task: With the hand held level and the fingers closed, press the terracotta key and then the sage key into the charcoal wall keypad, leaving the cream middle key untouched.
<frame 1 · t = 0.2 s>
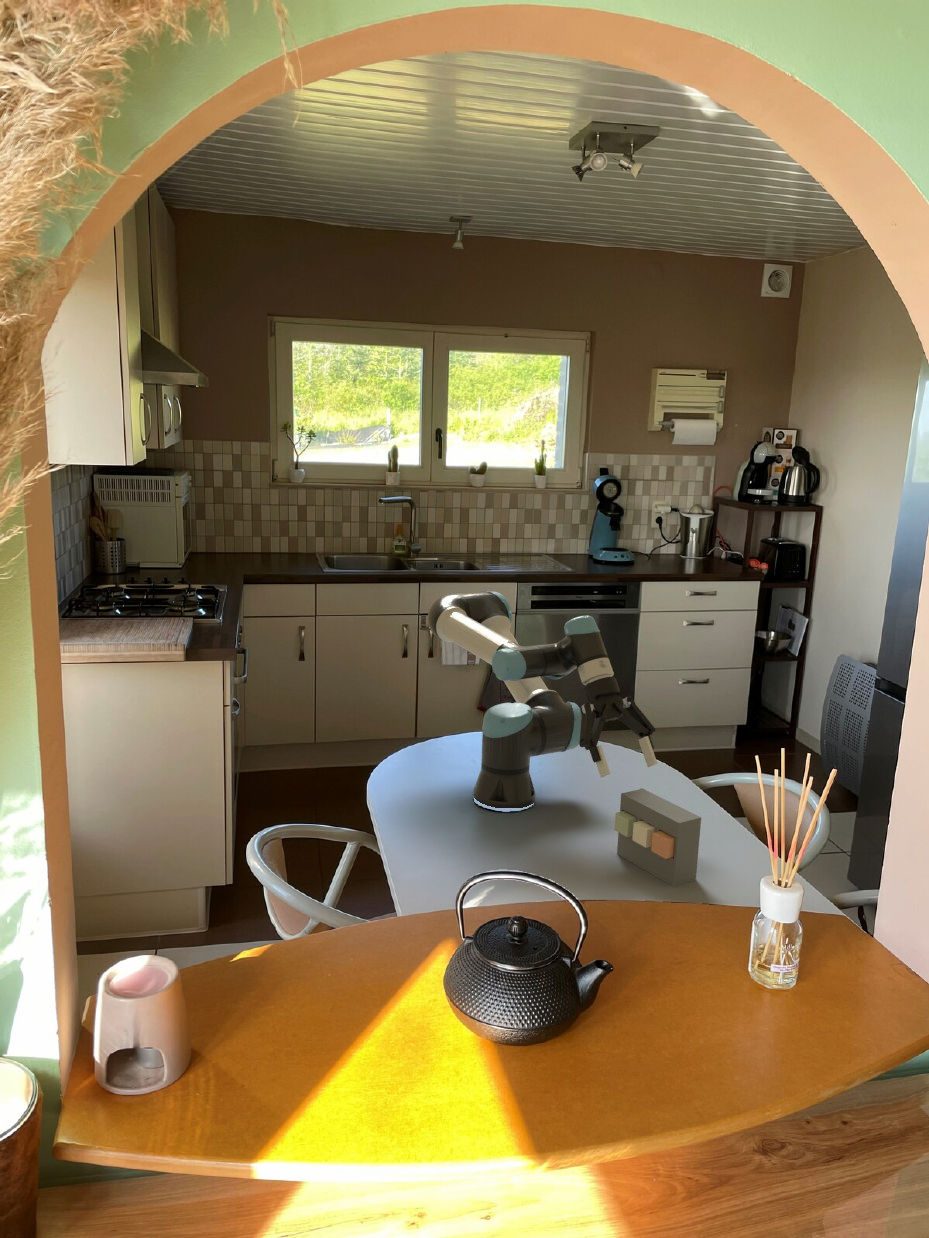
hand: (629, 770, 206), 15 cm above the table, tool tilted 35°, fingers open, 13 cm apart
keypad: (655, 868, 192), on the table
terracotta key: (666, 843, 184), point 8 cm above the table, slide at 0.0 cm
cream key: (647, 833, 189), point 8 cm above the table, slide at 0.0 cm
sage key: (628, 823, 193), point 8 cm above the table, slide at 0.0 cm
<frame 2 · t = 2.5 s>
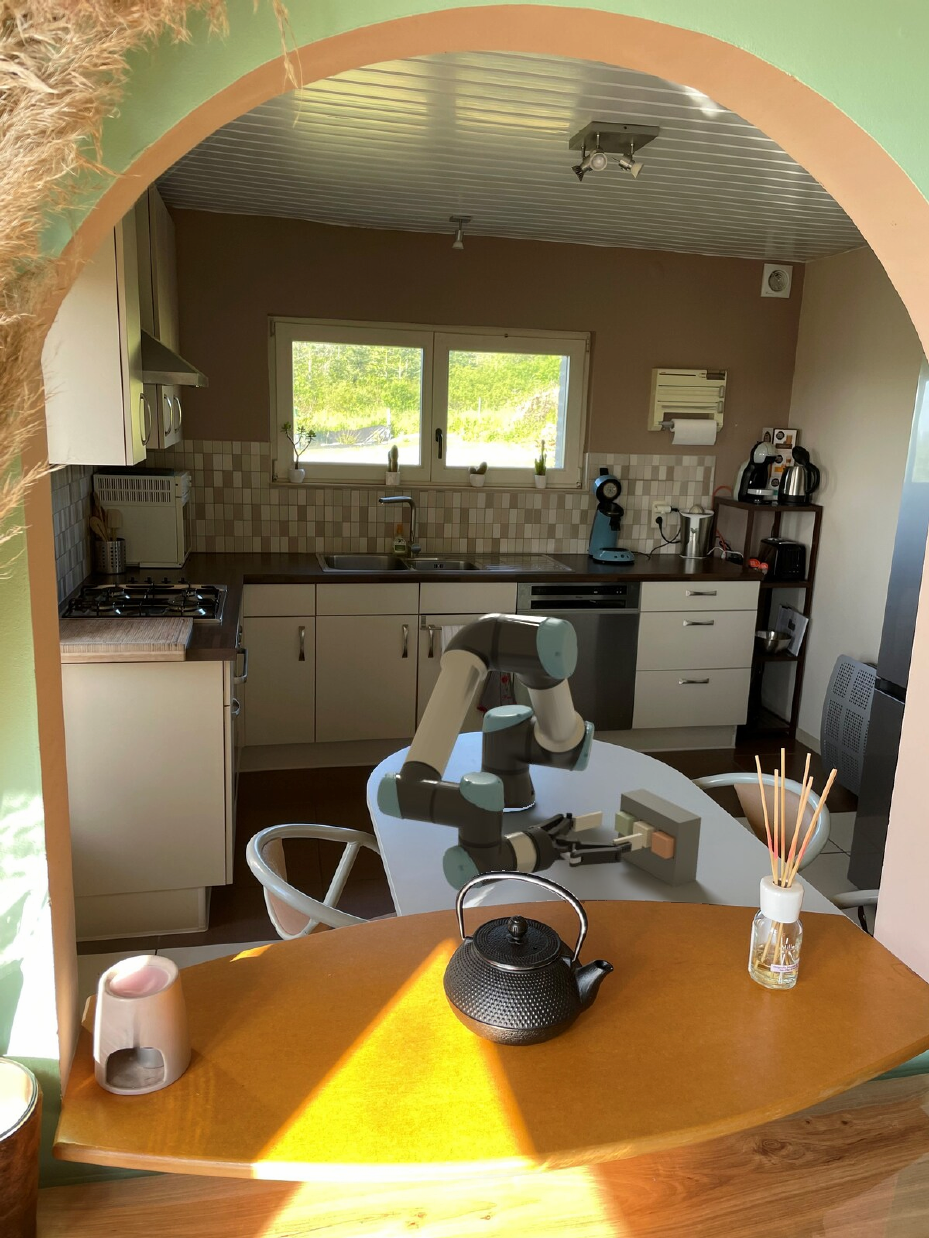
hand: (620, 829, 177), 14 cm above the table, tool horizontal, fingers open, 11 cm apart
nothing on the table moved.
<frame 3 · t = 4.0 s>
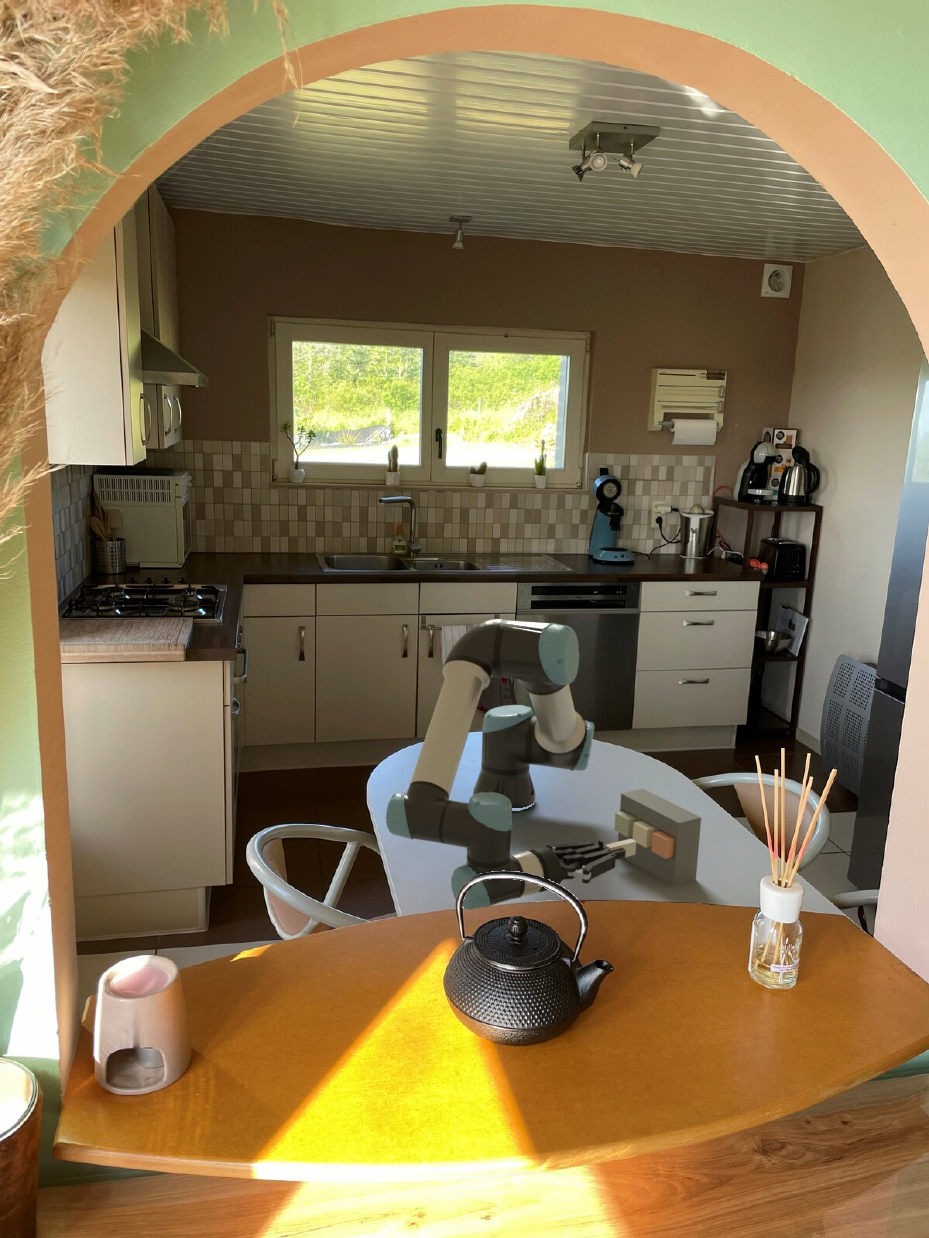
hand: (633, 846, 179), 10 cm above the table, tool horizontal, fingers closed
nothing on the table moved.
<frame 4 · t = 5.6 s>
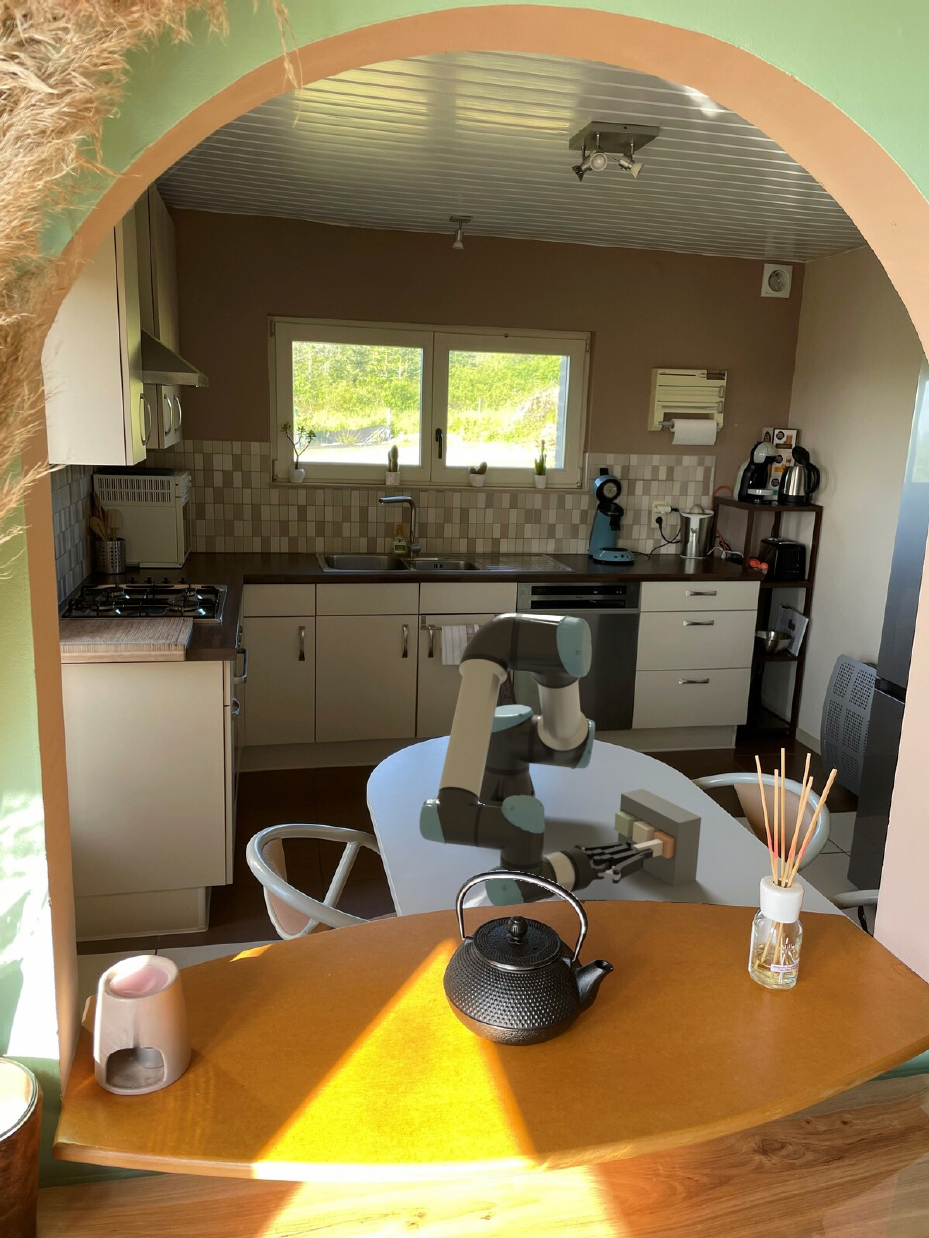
hand: (660, 846, 183), 8 cm above the table, tool horizontal, fingers closed
terracotta key: (667, 843, 184), point 9 cm above the table, slide at 0.3 cm, touching gripper
everything else where it was.
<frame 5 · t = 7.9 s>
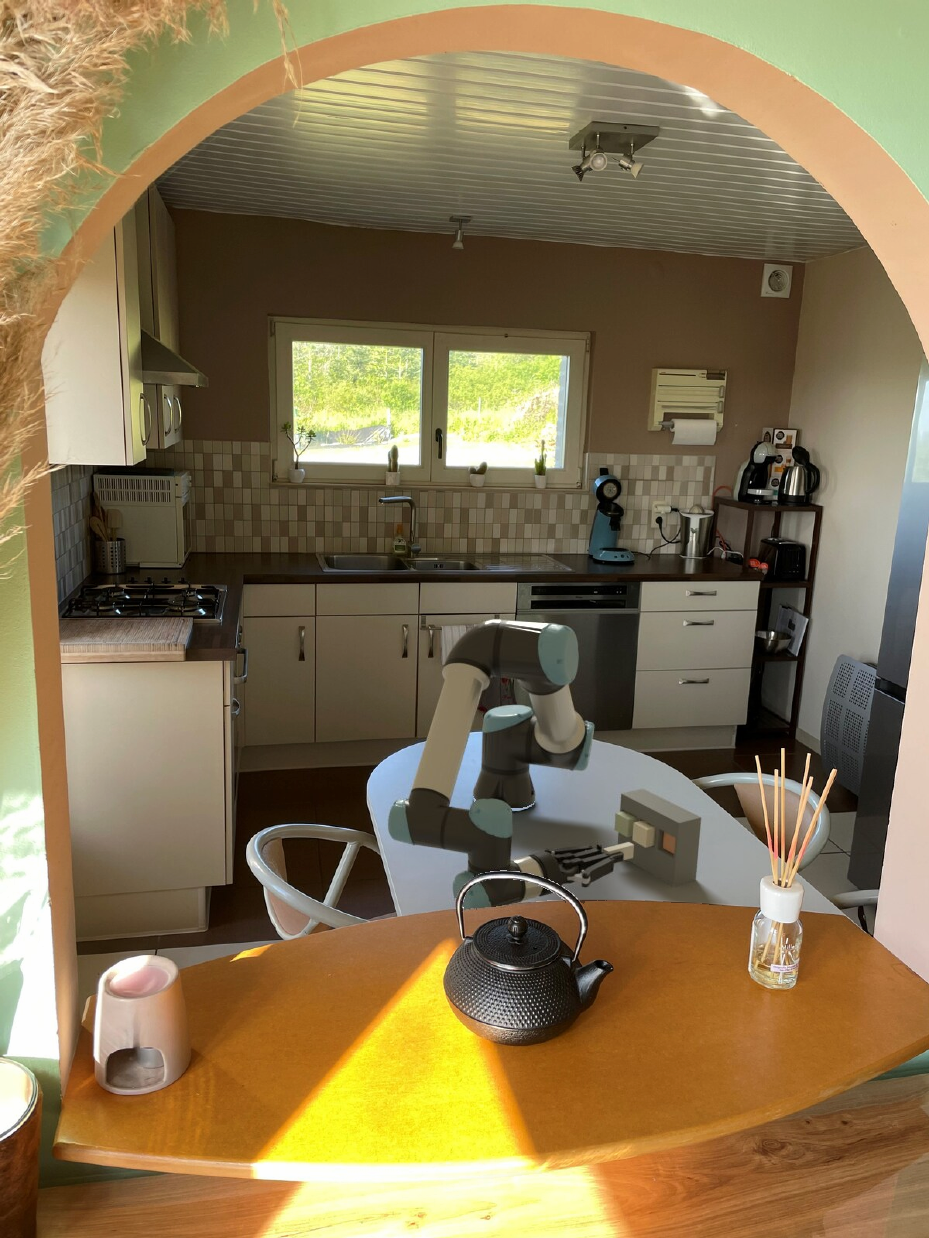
hand: (630, 849, 181), 8 cm above the table, tool horizontal, fingers closed
terracotta key: (677, 840, 186), point 8 cm above the table, slide at 3.1 cm
everything else where it was.
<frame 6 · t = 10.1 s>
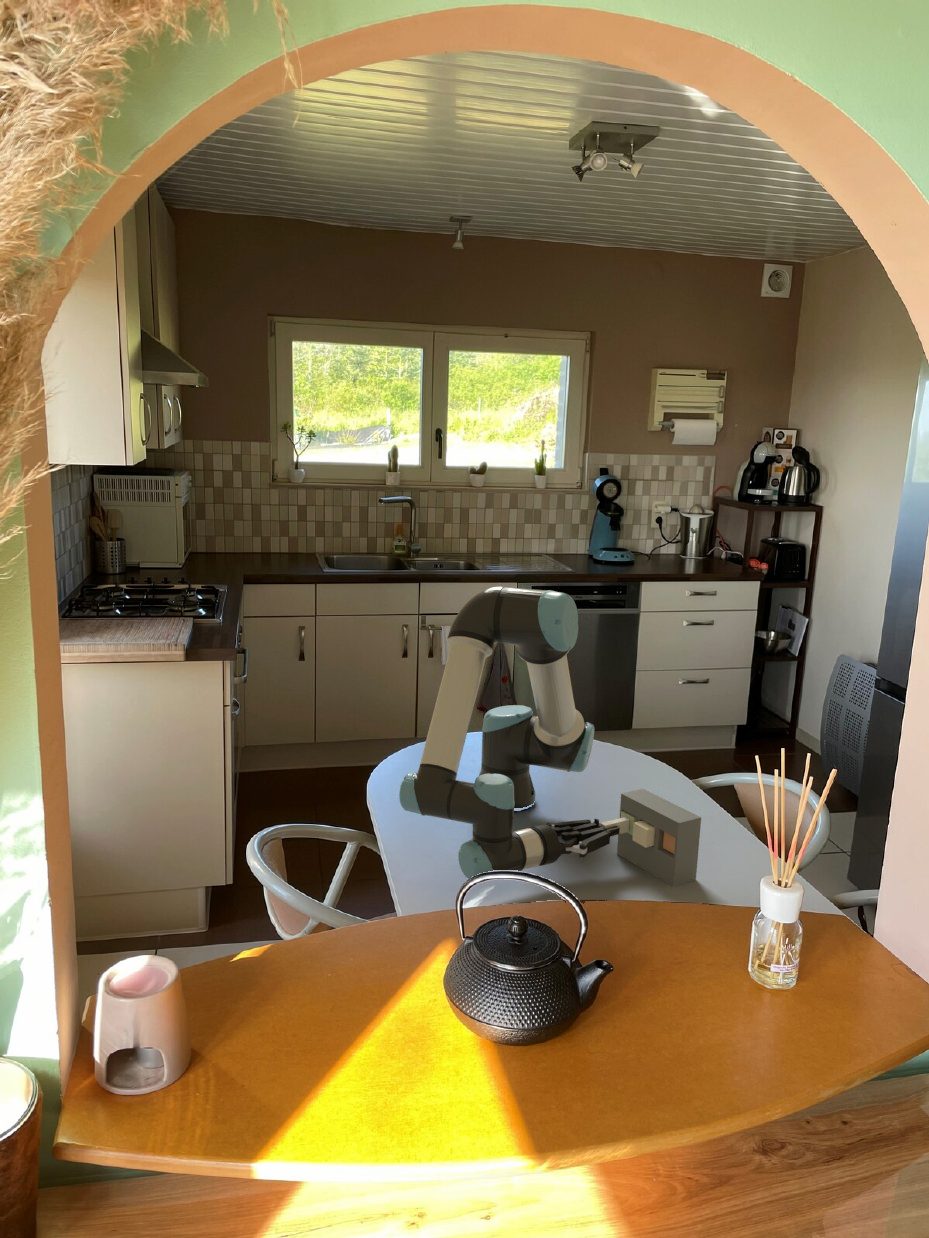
hand: (626, 824, 193), 8 cm above the table, tool horizontal, fingers closed
sage key: (634, 821, 194), point 8 cm above the table, slide at 1.5 cm, touching gripper
everything else where it was.
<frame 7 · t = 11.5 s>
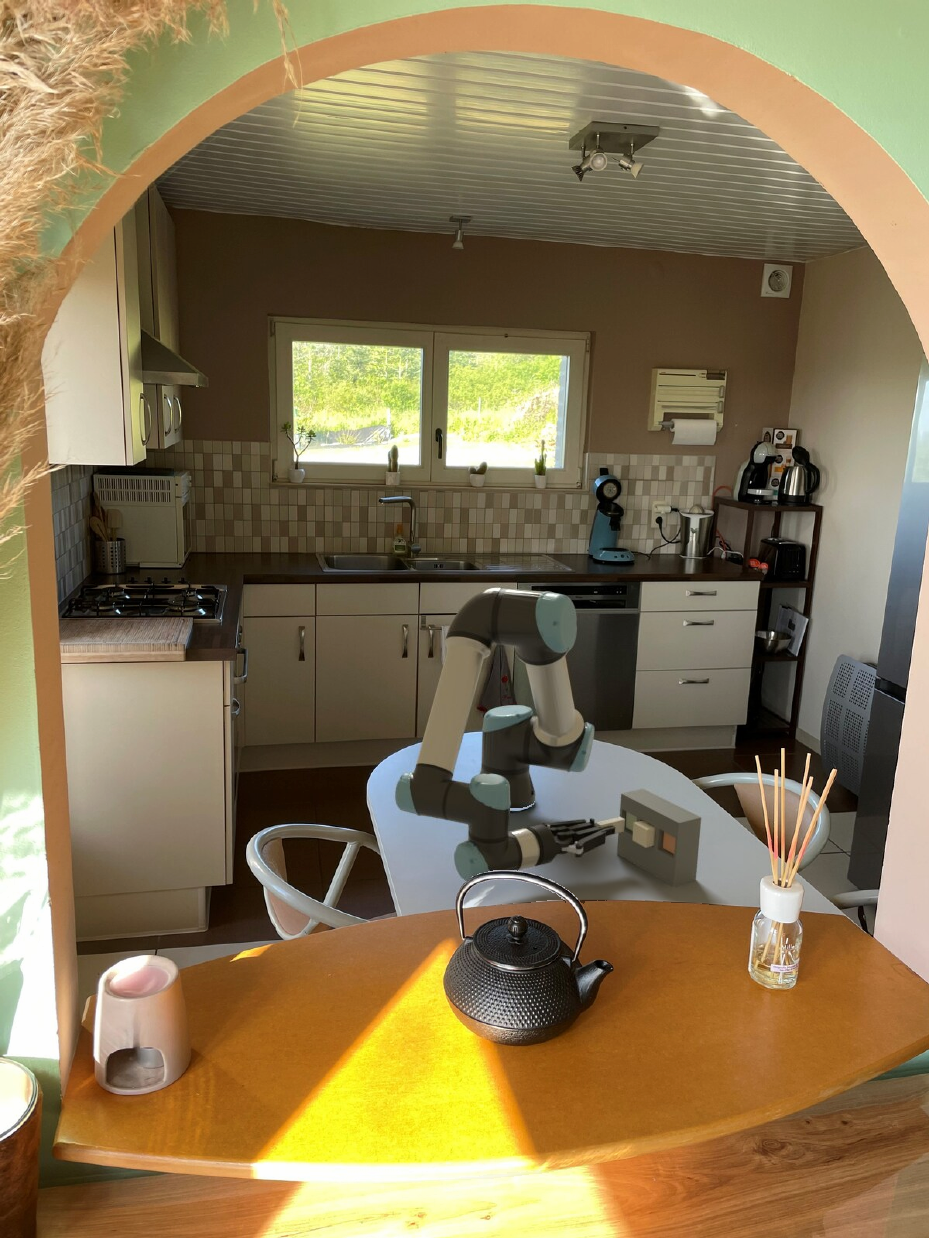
hand: (622, 824, 192), 9 cm above the table, tool horizontal, fingers closed
sage key: (639, 820, 195), point 9 cm above the table, slide at 3.1 cm
everything else where it was.
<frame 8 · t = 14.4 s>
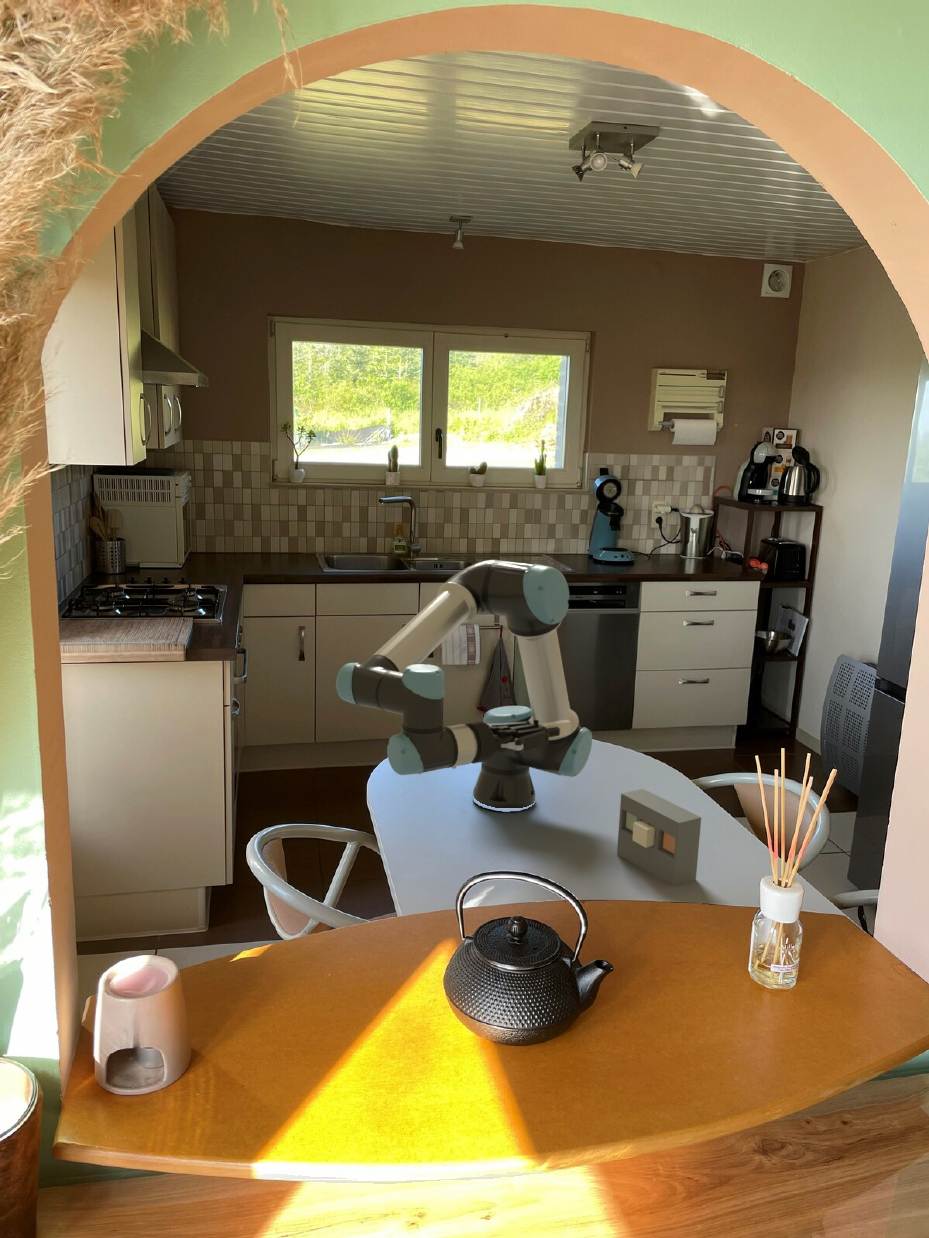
hand: (568, 727, 186), 30 cm above the table, tool horizontal, fingers closed
nothing on the table moved.
at the end: terracotta key slide at 3.1 cm; sage key slide at 3.1 cm; cream key slide at 0.0 cm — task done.
